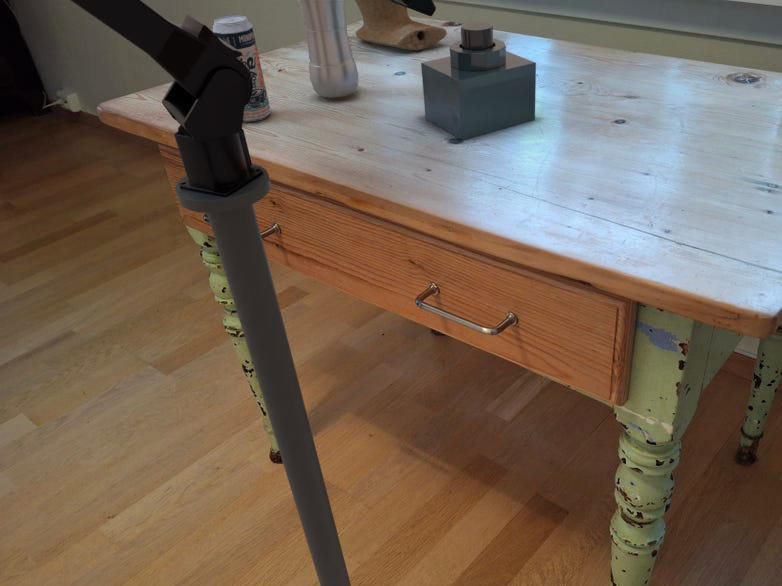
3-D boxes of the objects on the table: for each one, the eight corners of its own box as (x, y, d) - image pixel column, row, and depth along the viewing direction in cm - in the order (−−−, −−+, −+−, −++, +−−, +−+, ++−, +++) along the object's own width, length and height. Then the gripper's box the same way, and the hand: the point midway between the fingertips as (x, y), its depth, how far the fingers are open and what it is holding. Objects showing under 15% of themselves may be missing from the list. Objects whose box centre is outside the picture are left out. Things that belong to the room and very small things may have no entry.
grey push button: (472, 55, 82) (471, 31, 81) (455, 48, 85) (454, 25, 83) (499, 49, 84) (499, 26, 82) (482, 42, 86) (481, 20, 85)
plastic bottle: (357, 102, 96) (333, -67, 84) (308, 103, 97) (277, -64, 84) (364, 87, 101) (342, -74, 89) (317, 88, 102) (289, -72, 89)
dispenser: (461, 140, 85) (458, 62, 79) (425, 119, 91) (419, 45, 85) (535, 119, 89) (536, 45, 83) (495, 100, 95) (494, 29, 89)
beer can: (245, 126, 91) (220, 26, 83) (228, 117, 93) (203, 19, 86) (278, 116, 93) (257, 18, 85) (261, 107, 96) (239, 12, 88)
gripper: (416, -172, 60) (520, -42, 71) (328, -173, 72) (429, -62, 84) (346, -55, 62) (458, 54, 73) (272, -76, 74) (378, 20, 86)
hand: (430, 11), depth 79 cm, fingers closed
